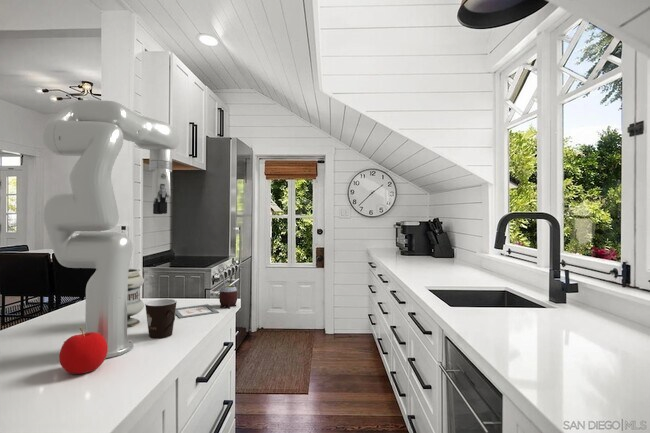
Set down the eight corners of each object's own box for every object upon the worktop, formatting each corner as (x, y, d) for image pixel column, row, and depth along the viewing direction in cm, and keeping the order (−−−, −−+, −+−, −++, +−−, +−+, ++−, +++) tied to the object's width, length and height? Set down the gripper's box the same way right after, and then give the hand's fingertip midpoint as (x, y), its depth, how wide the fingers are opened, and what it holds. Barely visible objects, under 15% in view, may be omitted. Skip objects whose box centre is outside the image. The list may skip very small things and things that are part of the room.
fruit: (99, 359, 88) (100, 319, 88) (113, 369, 82) (114, 326, 82) (54, 371, 81) (54, 328, 81) (65, 383, 75) (66, 336, 75)
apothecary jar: (111, 332, 108) (112, 274, 108) (95, 324, 115) (96, 270, 115) (150, 323, 118) (151, 269, 118) (133, 317, 125) (134, 266, 125)
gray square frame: (179, 318, 124) (179, 317, 124) (171, 309, 135) (171, 308, 135) (218, 312, 132) (218, 311, 132) (207, 304, 143) (207, 304, 143)
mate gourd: (236, 304, 145) (236, 267, 145) (238, 308, 138) (238, 270, 138) (217, 305, 143) (218, 268, 143) (218, 310, 135) (219, 271, 135)
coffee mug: (145, 332, 108) (145, 300, 108) (175, 329, 112) (176, 298, 112) (143, 345, 98) (144, 309, 98) (177, 341, 101) (177, 306, 101)
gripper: (176, 165, 123) (175, 213, 123) (167, 170, 138) (166, 214, 137) (152, 162, 119) (151, 213, 119) (146, 169, 133) (145, 214, 133)
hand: (159, 213), depth 128 cm, fingers open, 9 cm apart
